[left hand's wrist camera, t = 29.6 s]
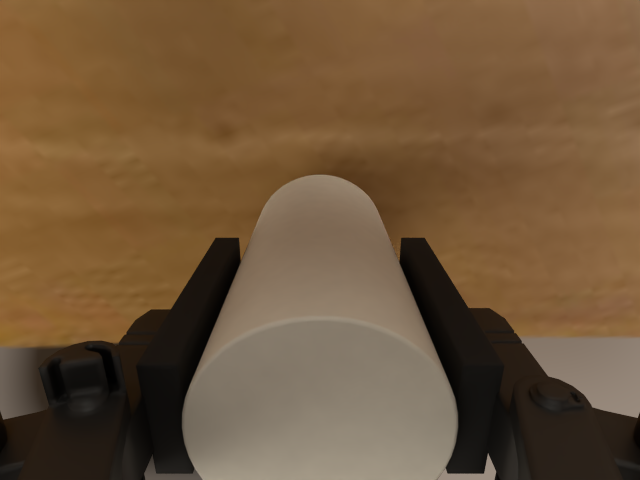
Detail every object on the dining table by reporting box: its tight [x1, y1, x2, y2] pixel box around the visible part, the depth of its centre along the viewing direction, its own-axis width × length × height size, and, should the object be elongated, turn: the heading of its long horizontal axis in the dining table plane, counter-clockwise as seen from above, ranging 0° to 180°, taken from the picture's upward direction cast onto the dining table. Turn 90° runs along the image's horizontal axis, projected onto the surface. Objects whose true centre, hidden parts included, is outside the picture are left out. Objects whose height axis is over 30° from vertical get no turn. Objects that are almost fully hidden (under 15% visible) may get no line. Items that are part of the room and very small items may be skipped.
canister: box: [182, 175, 458, 480], centre depth 13 cm, size 5×5×11 cm
